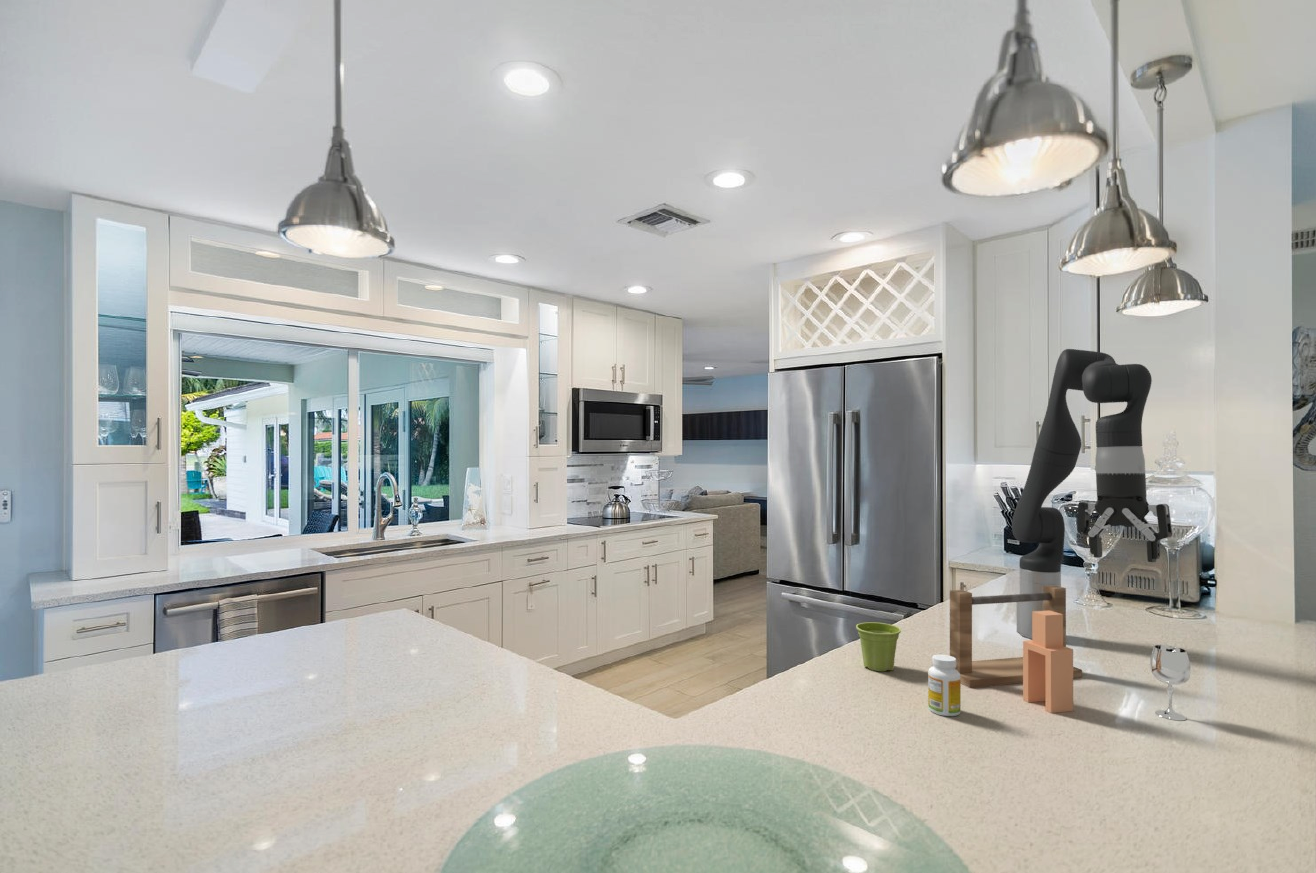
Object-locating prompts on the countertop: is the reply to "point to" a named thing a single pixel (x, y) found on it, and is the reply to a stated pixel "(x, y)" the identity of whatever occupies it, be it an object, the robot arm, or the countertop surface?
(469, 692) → the countertop surface
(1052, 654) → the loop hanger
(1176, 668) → the wineglass
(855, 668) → the countertop surface
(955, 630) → the hook stand
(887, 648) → the plant pot
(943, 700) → the supplement bottle
